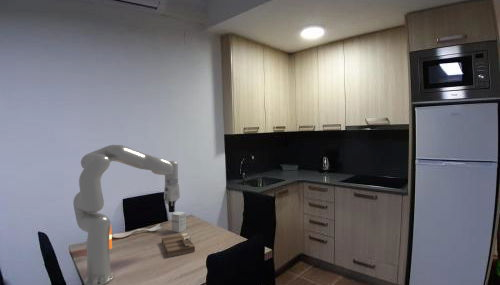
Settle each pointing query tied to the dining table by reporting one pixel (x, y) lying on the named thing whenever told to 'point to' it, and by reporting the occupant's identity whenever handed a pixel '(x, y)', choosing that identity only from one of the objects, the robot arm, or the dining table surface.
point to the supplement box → (178, 221)
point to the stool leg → (185, 239)
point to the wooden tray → (176, 245)
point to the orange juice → (110, 239)
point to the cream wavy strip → (121, 235)
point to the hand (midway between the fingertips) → (171, 211)
